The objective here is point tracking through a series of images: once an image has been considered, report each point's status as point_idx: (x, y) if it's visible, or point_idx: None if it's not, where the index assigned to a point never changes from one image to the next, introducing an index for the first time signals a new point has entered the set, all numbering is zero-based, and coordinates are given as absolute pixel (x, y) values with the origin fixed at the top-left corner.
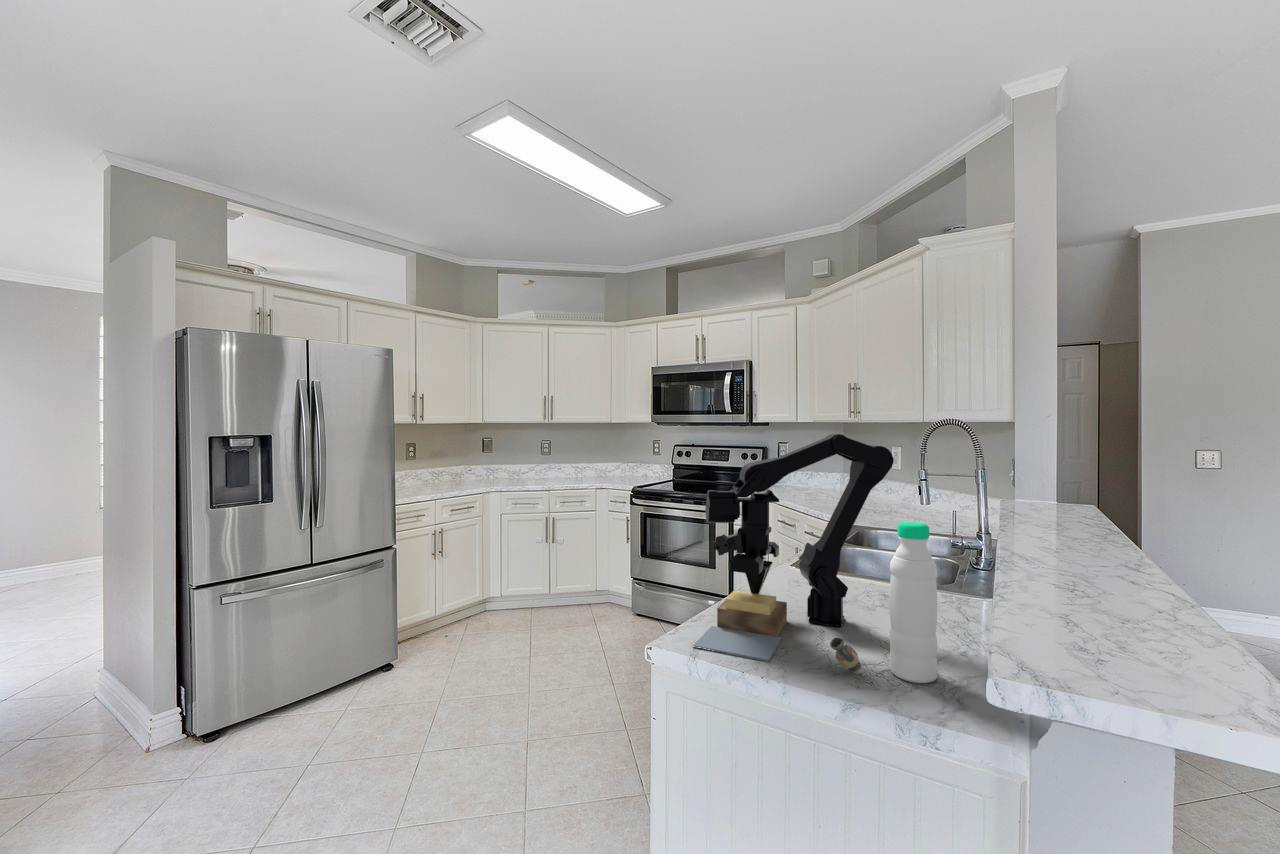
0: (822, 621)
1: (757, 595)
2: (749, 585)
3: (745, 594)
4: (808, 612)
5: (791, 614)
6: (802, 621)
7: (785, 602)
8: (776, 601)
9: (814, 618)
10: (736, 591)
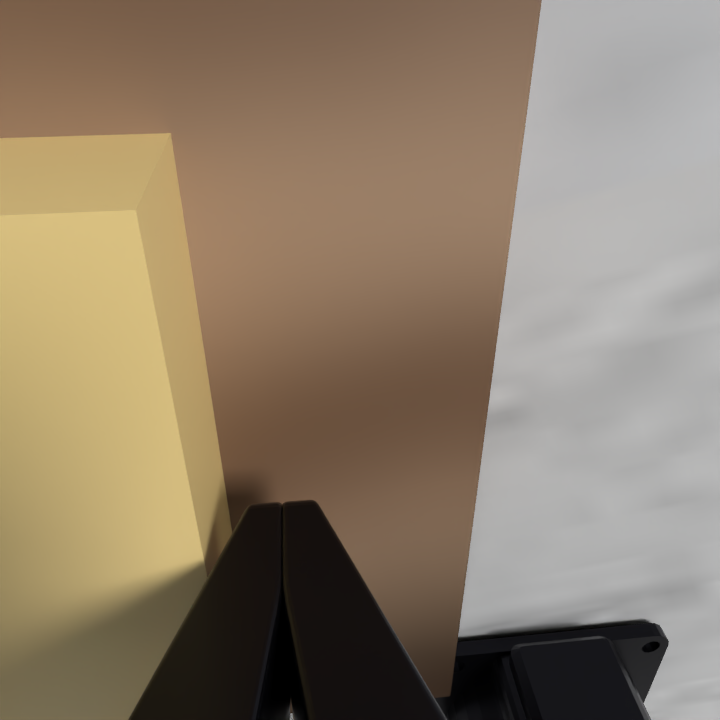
0: (446, 716)
1: (132, 658)
2: (137, 705)
3: (30, 516)
4: (519, 684)
5: (607, 517)
6: (463, 604)
7: (437, 690)
8: (431, 632)
9: (489, 678)
10: (116, 294)
